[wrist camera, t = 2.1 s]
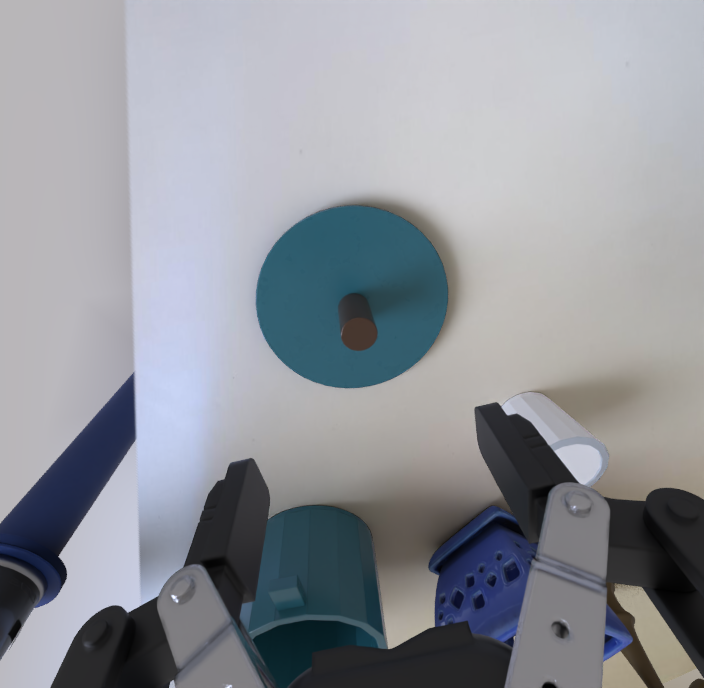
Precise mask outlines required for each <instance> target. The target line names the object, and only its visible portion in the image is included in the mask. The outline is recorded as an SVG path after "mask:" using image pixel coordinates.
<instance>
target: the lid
mask: <svg viewBox="0 0 704 688" xmlns="http://www.w3.org/2000/svg"><path fill="white" fill-rule="evenodd" d="M447 303H448V285H447V279H446V274H445V271H444V267H443V264H442V262H441V260H440V257H439V255H438V253H437V252H436V250H435V248H434V247H433V245H432V244H431V242H430V241H429V240H428V239H427V238H426V237H425V236H424V234H423V233H422V232H421V231H419V230H418V229H417V228H416V227H415V226H413V225H412V224H411V223H409V222H408V221H406V220H405V219H403V218H401V217H400V216H398V215H395V214H393V213H391V212H389V211H386V210H382V209H379V208H375V207H368V206H361V205H348V206H340V207H333V208H329V209H326V210H323V211H319V212H317V213H315V214H313V215H310V216H308V217H306V218H304V219H303V220H301V221H300V222H298V223H296V224H295V225H294V226H293V227H291V228H290V229H289V230H288V231H287V232H285V233H284V234H283V235H282V237H281V238H280V239H279V240H278V241H277V242H276V243H275V245H274V246H273V248H272V249H271V251H270V252H269V254H268V255H267V258H266V260H265V262H264V264H263V266H262V268H261V272H260V275H259V278H258V283H257V289H256V310H257V317H258V321H259V324H260V328H261V330H262V333H263V335H264V337H265V339H266V341H267V343H268V344H269V346H270V348H271V349H272V350H273V352H274V353H275V354H276V355H277V357H278V358H279V359H280V360H281V361H282V362H283V363H284V364H285V365H286V366H288V367H289V368H290V369H292V370H293V371H294V372H296V373H298V374H299V375H301V376H303V377H304V378H307V379H309V380H311V381H313V382H316V383H319V384H323V385H326V386H332V387H338V388H360V387H367V386H372V385H376V384H380V383H382V382H385V381H388V380H390V379H392V378H394V377H396V376H398V375H400V374H402V373H403V372H405V371H406V370H408V369H409V368H411V367H412V366H413V365H414V364H415V363H417V362H418V361H419V360H420V359H421V358H422V357H423V356H424V355H425V354H426V353H427V351H428V350H429V349H430V347H431V346H432V344H433V343H434V341H435V340H436V338H437V336H438V334H439V332H440V330H441V327H442V325H443V322H444V319H445V315H446V311H447Z"/></svg>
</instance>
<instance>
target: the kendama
mask: <svg viewBox="0 0 704 688" xmlns="http://www.w3.org/2000/svg"><path fill="white" fill-rule="evenodd" d="M606 586H607V605H608V606H609V607H610V608H611V609H612V611H613V612H614V613H615V614H616V615H617V617H618V618H619V619H620V620H621V622H622V623H623V624H624V626H625V627H626V628H627V630H628V631H629V633H630V634H631V636H632V638H633V641H632V643H630V644H629V645H628V646H626V647H625V648H623V649H622V650H621V652H622V653H623V655H624V656H625V657H626V659H627V660H628V661H629V663H630V664H631V665H632V667H633V668H634V669H635V671H636V672H637V673H638V675H639V676H640V678H641V679H642V680H643V682H644V683H645V684H646V686H647V687H648V688H664V686H663V684H662V683H661V681H660V679H659V677H658V676H657V674H656V672H655V670H654V668H653V666H652V664H651V663H650V661H649V659H648V657H647V655H646V653H645V651H644V649H643V647H642V645H641V643H640V641H639V639H638V637H637V634H636V632H635V629H634V624H635V618H634V616H632V615H631V614H630V613H628V612H627V611H625V610H624V609H623V608H622V607H621V605H620V604H619V602H618V601H617V599H616V597H615V595H614V591H615V586H614V583H610V582H606ZM689 688H704V680H702V679H696V680H695V681H693V682H692V683H691V685H690V686H689Z"/></svg>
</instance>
